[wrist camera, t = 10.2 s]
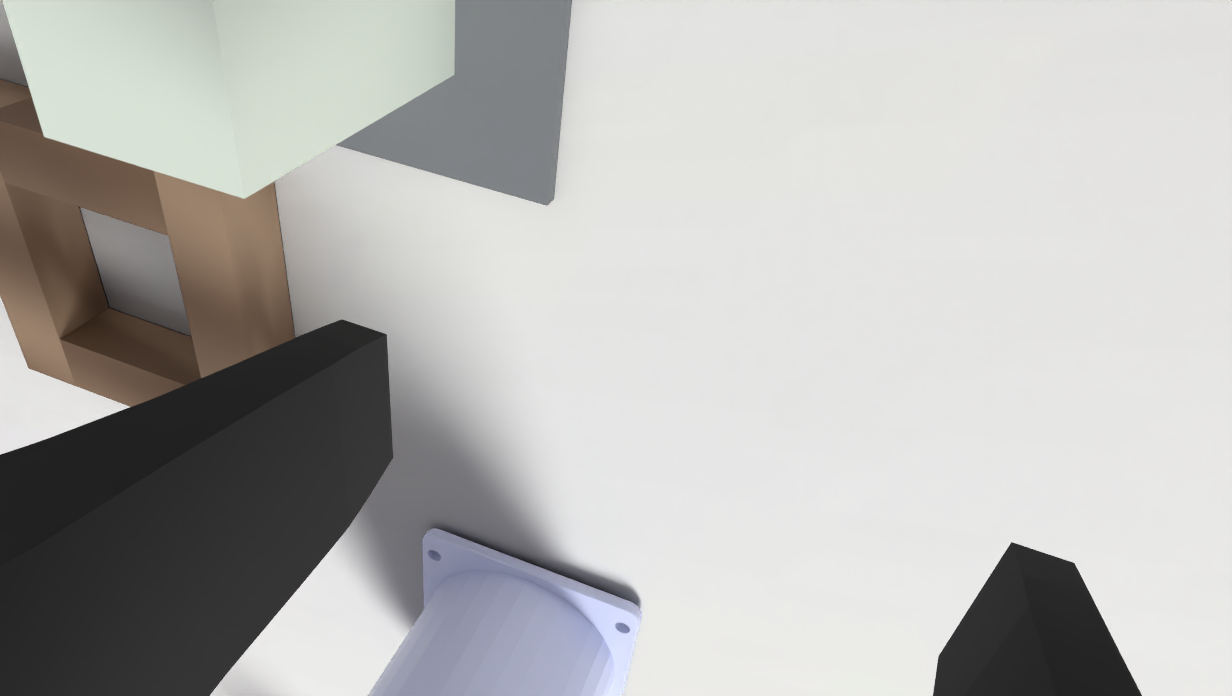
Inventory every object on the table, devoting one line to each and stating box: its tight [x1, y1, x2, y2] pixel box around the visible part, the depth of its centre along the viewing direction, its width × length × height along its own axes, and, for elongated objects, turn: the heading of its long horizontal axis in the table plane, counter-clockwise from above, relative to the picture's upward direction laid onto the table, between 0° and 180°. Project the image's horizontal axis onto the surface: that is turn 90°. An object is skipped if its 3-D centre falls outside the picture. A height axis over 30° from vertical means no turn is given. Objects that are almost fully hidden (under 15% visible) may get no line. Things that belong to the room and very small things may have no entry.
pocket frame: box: [0, 79, 295, 407], centre depth 25 cm, size 10×10×2 cm
